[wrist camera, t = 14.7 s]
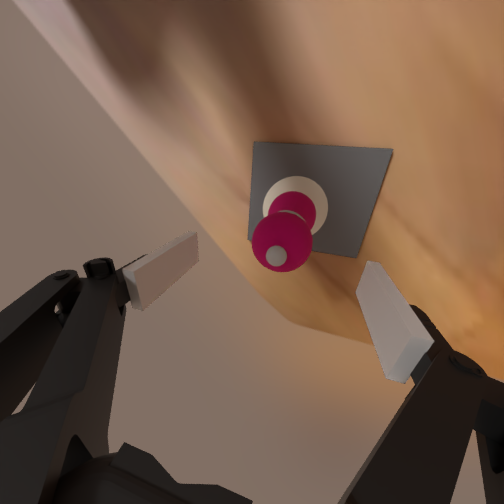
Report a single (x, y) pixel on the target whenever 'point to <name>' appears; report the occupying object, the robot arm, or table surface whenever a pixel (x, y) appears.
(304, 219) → the pepper mill
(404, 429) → the robot arm
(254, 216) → the mat
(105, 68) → the table surface
